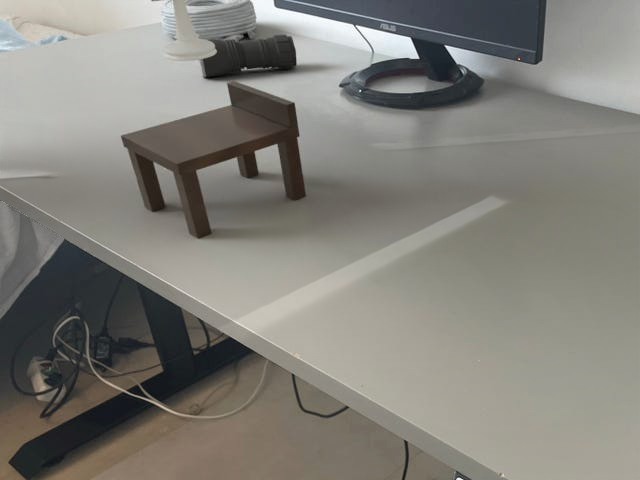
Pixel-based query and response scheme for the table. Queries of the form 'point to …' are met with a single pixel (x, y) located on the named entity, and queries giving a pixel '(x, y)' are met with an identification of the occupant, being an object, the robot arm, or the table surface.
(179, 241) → the table surface
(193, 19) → the cable
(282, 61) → the flashlight
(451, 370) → the table surface
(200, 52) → the chess piece
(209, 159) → the wooden bench with backrest
